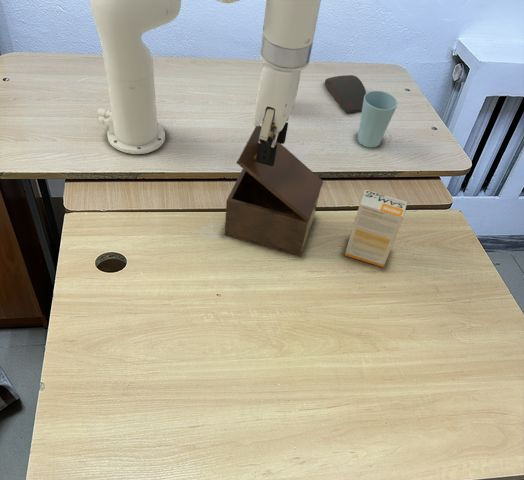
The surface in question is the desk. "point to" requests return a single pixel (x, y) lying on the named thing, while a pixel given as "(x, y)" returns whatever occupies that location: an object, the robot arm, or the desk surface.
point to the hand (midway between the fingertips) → (270, 151)
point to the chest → (264, 217)
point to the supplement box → (375, 228)
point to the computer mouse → (347, 92)
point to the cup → (375, 117)
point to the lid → (283, 176)
